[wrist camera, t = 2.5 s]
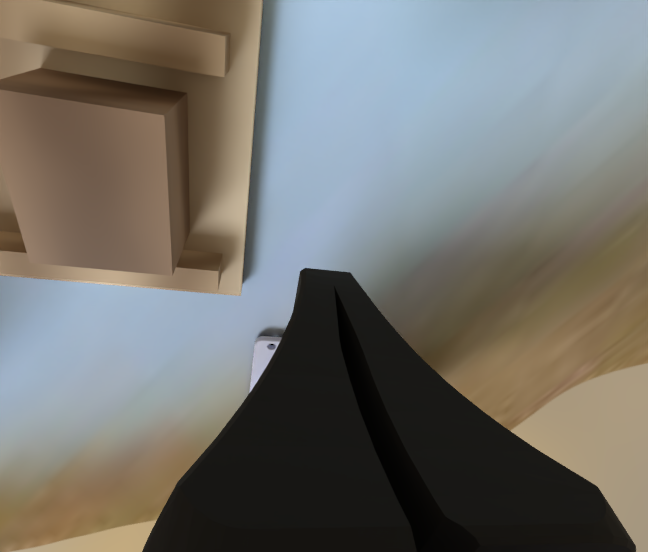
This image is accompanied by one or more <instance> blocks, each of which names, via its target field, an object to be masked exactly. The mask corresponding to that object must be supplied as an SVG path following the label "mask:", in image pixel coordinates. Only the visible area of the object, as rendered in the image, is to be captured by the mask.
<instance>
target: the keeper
mask: <svg viewBox="0 0 648 552" xmlns="http://www.w3.org/2000/svg"><path fill="white" fill-rule="evenodd" d="M0 164H1V167H2V171H3V174H4V177H5V181H6V184H7V187H8V191H9V194H10V197H11V201H12V204H13V208H14V211H15V214H16V218H17V221H18V224H19V228H20V231H21V234H22V238H23V241H24V245H25V248H26V251H27V255H28V258H29V261H30V263H37V264H48V265H59V266H70V267H81V268H92V269H102V270H113V271H124V272H135V273H146V274H157V275H168V276H173V273H174V271H175V268H176V266H177V263H178V261H179V258H180V256H181V253H182V251H183V248H184V246H185V243H186V241H187V238H188V236H189V233H190V206H189V152H188V98H187V93H186V92H180V91H174V90H168V89H162V88H156V87H150V86H144V85H138V84H133V83H127V82H121V81H115V80H109V79H103V78H97V77H91V76H85V75H79V74H74V73H68V72H62V71H56V70H50V69H44V68H38V69H35V70H31V71H28V72H24V73H21V74H17V75H14V76H10V77H7V78H3V79H0Z"/></svg>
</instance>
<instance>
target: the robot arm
mask: <svg viewBox="0 0 648 552" xmlns="http://www.w3.org/2000/svg"><path fill="white" fill-rule="evenodd" d="M269 344H274V345H269ZM142 552H636V546H635V544H634V543H633V541H632V539H631V538H630V536H629V535H628V533H627V532H626V530H625V528H624V527H623V525H622V524H621V522H620V521H619V519H618V518H617V516H616V515H615V513H614V511H613V510H612V508H611V507H610V505H609V504H608V502H607V500H606V499H605V497H604V496H603V494H602V493H601V491H600V490H599V488H598V487H597V486H596V485H594V484H592V483H591V482H589V481H588V480H586V479H584V478H583V477H581V476H579V475H578V474H576V473H574V472H572V471H571V470H570V469H568V468H566V467H565V466H563V465H561V464H560V463H558V462H556V461H555V460H553V459H551V458H550V457H548V456H547V455H545V454H543V453H542V452H540V451H539V450H537V449H535V448H534V447H532V446H531V445H530V444H528V443H527V442H525V441H524V440H522V439H521V438H519V437H518V436H516V435H515V434H514V433H512V432H511V431H509V430H508V429H506V428H505V427H503V426H502V425H501V424H499V423H498V422H497V421H495V420H494V419H492V418H491V417H490V416H488V415H487V414H486V413H484V412H483V411H482V410H481V409H479V408H478V407H477V406H476V405H474V404H473V403H472V402H471V401H469V400H468V399H467V398H466V397H464V396H463V395H462V394H460V393H459V392H458V391H457V390H456V389H455V388H453V387H452V386H451V385H450V384H449V383H448V382H446V381H445V380H444V379H443V378H442V377H441V376H440V375H439V374H438V373H437V372H436V371H434V370H433V369H432V368H431V367H430V366H429V365H428V364H427V363H426V362H425V361H424V360H423V359H422V358H421V357H420V356H419V355H418V354H417V353H416V352H415V351H414V350H413V349H412V348H411V347H410V346H409V345H408V344H407V343H406V341H405V340H404V339H403V338H402V337H401V336H400V335H399V334H398V333H397V332H396V330H395V329H394V328H393V327H392V326H391V325H390V323H389V322H388V321H387V320H386V319H385V317H384V316H383V315H382V314H381V312H380V311H379V310H378V309H377V307H376V306H375V305H374V303H373V302H372V301H371V300H370V298H369V297H368V296H367V294H366V293H365V292H364V290H363V289H362V288H361V286H360V285H359V284H358V282H357V281H356V280H355V278H354V277H353V276H352V274H351V273H349V272H339V271H329V270H319V269H309V268H305V269H303V270H302V271H300V276H299V282H298V287H297V293H296V299H295V304H294V310H293V313H292V316H291V319H290V321H289V323H288V325H287V328H286V330H285V332H284V334H283V337H269V336H260V337H258V338H257V339H256V340H255V346H254V355H253V364H252V373H251V383H250V392H249V395H248V396H247V398H246V399H245V401H244V402H243V403H242V405H241V406H240V407H239V409H238V410H237V411H236V413H235V414H234V415H233V417H232V418H231V419H230V421H229V422H228V423H227V425H226V426H225V427H224V428H223V430H222V431H221V432H220V434H219V435H218V436H217V437H216V439H215V440H214V441H213V442H212V444H211V445H210V446H209V447H208V448H207V449H206V450H205V452H204V453H203V454H202V455H201V456H200V457H199V458H198V460H197V461H196V462H195V463H194V464H193V465H192V466H191V468H190V469H189V470H188V471H187V472H186V473H185V474H184V475H183V477H182V478H181V479H180V480H179V481H178V483H177V484H176V487H175V488H174V490H173V492H172V494H171V495H170V497H169V499H168V501H167V503H166V505H165V506H164V508H163V510H162V512H161V514H160V516H159V518H158V519H157V521H156V523H155V526H154V527H153V529H152V531H151V533H150V535H149V537H148V540H147V542H146V544H145V546H144V549H143V551H142Z"/></svg>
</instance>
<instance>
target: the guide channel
mask: <svg viewBox="0 0 648 552" xmlns="http://www.w3.org/2000/svg"><path fill="white" fill-rule="evenodd" d="M262 13H263V0H0V79H3V78H7V77H10V76H14V75H17V74H21V73H24V72H28V71H31V70H35V69H38V68H44V69H50V70H56V71H62V72H68V73H74V74H79V75H85V76H91V77H97V78H103V79H109V80H115V81H121V82H127V83H133V84H138V85H144V86H150V87H156V88H162V89H168V90H174V91H180V92H186V93H187V98H188V152H189V206H190V233H189V236H188V238H187V241H186V243H185V246H184V248H183V251H182V253H181V256H180V258H179V261H178V263H177V266H176V268H175V271H174V273H173V276H168V275H157V274H146V273H135V272H124V271H113V270H102V269H92V268H81V267H70V266H59V265H48V264H37V263H30V261H29V258H28V255H27V251H26V248H25V245H24V241H23V238H22V234H21V231H20V228H19V224H18V221H17V218H16V214H15V211H14V208H13V204H12V201H11V197H10V194H9V191H8V187H7V184H6V181H5V177H4V174H3V171H2V167H1V164H0V275H2V276H14V277H26V278H37V279H49V280H61V281H72V282H84V283H96V284H107V285H119V286H131V287H142V288H154V289H166V290H177V291H189V292H201V293H212V294H224V295H236V296H241V290H242V282H243V269H244V255H245V242H246V228H247V215H248V201H249V188H250V174H251V161H252V147H253V134H254V120H255V107H256V93H257V80H258V66H259V53H260V39H261V26H262Z"/></svg>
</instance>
